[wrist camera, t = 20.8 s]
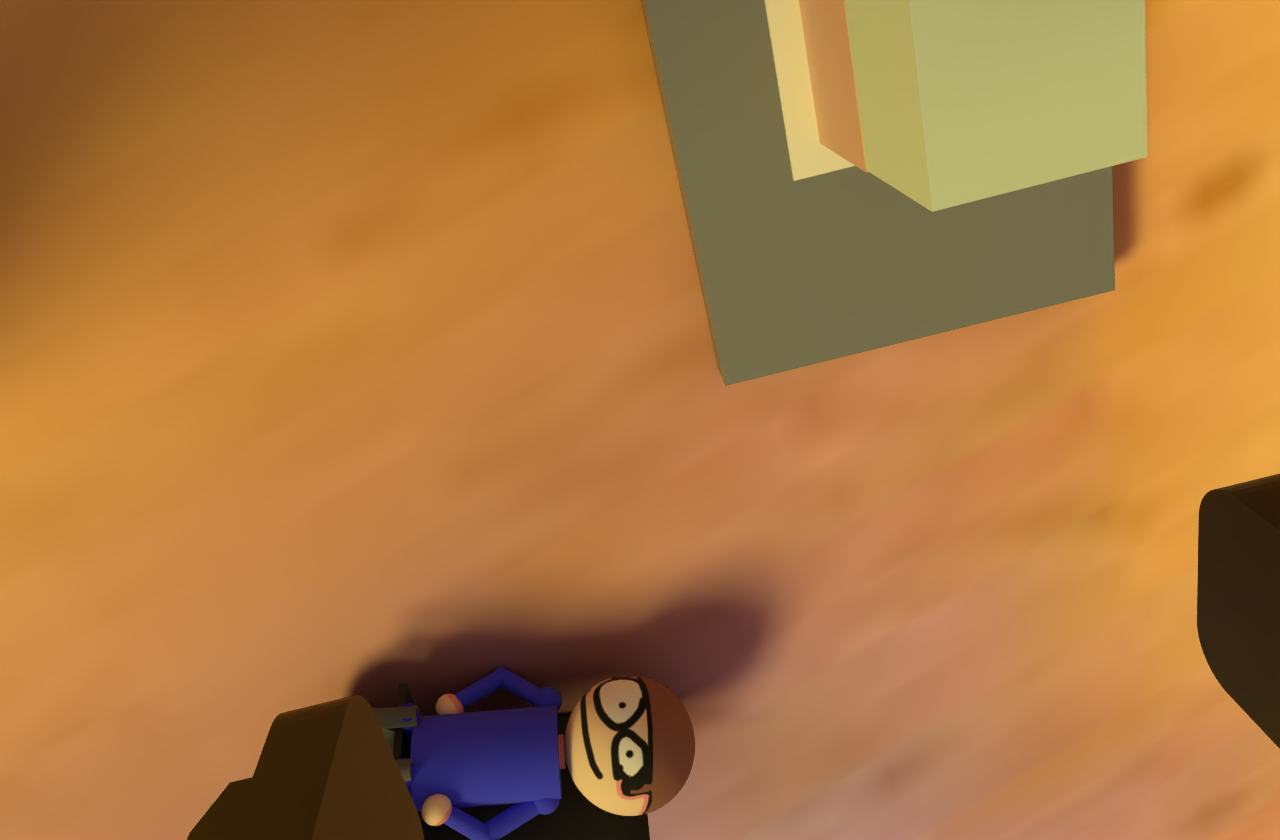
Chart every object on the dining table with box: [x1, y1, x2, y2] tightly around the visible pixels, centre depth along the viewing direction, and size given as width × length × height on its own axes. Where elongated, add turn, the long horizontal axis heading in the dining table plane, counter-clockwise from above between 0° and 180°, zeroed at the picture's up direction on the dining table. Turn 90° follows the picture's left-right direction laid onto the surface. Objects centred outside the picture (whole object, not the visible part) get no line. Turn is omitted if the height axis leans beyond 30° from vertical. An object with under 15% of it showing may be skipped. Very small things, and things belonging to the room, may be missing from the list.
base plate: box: [641, 0, 1115, 386], centre depth 31 cm, size 14×20×2 cm
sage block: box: [844, 0, 1147, 212], centre depth 24 cm, size 5×5×5 cm
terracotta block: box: [799, 0, 868, 173], centre depth 28 cm, size 5×5×5 cm
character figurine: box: [371, 666, 695, 840], centre depth 39 cm, size 8×7×15 cm
